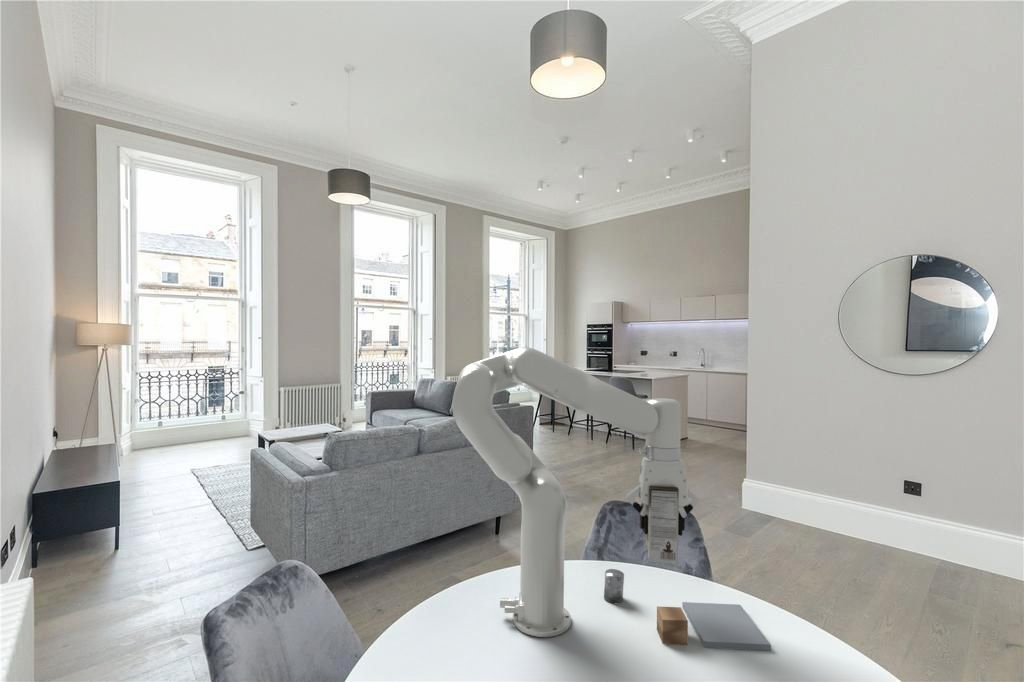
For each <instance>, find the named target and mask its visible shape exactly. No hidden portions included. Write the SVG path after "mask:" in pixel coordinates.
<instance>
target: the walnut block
mask: <svg viewBox="0 0 1024 682" xmlns="http://www.w3.org/2000/svg"><path fill="white" fill-rule="evenodd" d="M688 621H689V619H688V617H687V615H686V613H685V612H684V610H683V608H682V607H680V606H656V631H657V633H658V636H659V638H660V640H661V644H662V645H675V646H676V645H677V646H688V643H689V641H688V640H689V639H688V637H689V635H688V632H689V630H688V629H689V627H688V626H689V622H688Z"/></svg>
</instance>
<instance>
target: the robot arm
mask: <svg viewBox="0 0 1024 682" xmlns="http://www.w3.org/2000/svg"><path fill="white" fill-rule="evenodd" d="M517 386H522V387H524V388H526V389H528V390H530V391H533V392H535V393H538V394H540V395H542V396H544V397H547V398H549V399H551V400H553V401H555V402H557V403H559V404H562V405H564V406H566V407H568V408H570V409H573V410H574V411H577V412H580V413H584V414H586V415H587V414H588V415H589V416H591V417H594V418H597V419H598V420H601V421H603V422H606V423H608V424H610V425H612V426H615V427H616V428H619V429H621V430H623V431H625V432H628V433H630V434H631V435H634V436H637V437H643V436H644V437H645V444H644V446H642V447H639V448H638V452H639V454H642V455H644V457H642V460H641V464H640V470H639V479H638V485H637V486H636V487H634V488H633V489H632V490H631V491H630V492H628V493H627V494H626V495H625V497H626V500H627V501H628V502H629V504H631V506H632V507H633V508H634V509H635V510H636V512H638V513H639V528H640V529H641V530H642V531H643V534H644V535H646V534H648V516H647V511H648V506H649V487H650V486H664V487H677V488H678V489H679V519H678V536H681V537H682V536H683V531H685V527H686V526H685V524H686V522H685V521H686V520H685V518H687V516H688V514H689V513H690V512H692V511H693V509H694V508H695V507H696V506H697V505H698V504H699V502H700V498H698V497H697V496H696V495H695V494H694V493H693V492H692V491H690V490H689V489H688V479H687V478H688V477H687V470H686V463H685V461H684V460H683V459H681V428H682V427H681V424H682V422H681V418H682V416H681V415H682V407H681V403H680V402H679V401H678V400H676V399H672V398H665V397H664V398H661V397H658V398H649V399H647V398H640V397H639V396H638V397H637V396H635V395H633V394H631V393H629V392H626V391H625V390H623V389H621V388H618V387H617V386H614V385H611V384H610V383H608V382H605V381H603V380H600V379H599V378H597V377H595V376H593V375H592V374H589V373H588V372H585V371H583V370H581V369H579V368H576V367H574V366H572V365H570V364H568V363H566V362H564V361H563V360H562V361H561V360H559V359H557V358H555V357H553V356H551V355H548V354H546V353H544V352H542V351H539V350H538V349H535V348H532V347H529V346H527V347H526V346H525V347H524V346H522V347H517V348H514V349H512V350H509V351H506V352H503V353H500V354H498V355H494V356H490V357H488V358H484V359H482V360H478V361H475V362H472V363H469V364H467V365H466V366H464V367H463V368H462V369H461V371H460V373H459V375H458V379H457V382H456V385H455V388H454V392H453V395H452V405H451V406H452V415H453V417H454V421H455V423H456V426H457V427H458V429H459V430H460V432H461V433H462V434H463V435H464V437H465V438H466V439H467V441H469V443H470V444H471V445H472V447H473V448H474V450H475V451H476V452H477V453H478V454H479V455H480V456H481V458H482V460H484V461H485V463H486V464H487V466H489V468H490V470H491V471H492V472H493V473H494V474H495V476H496V477H497V478H499V479H500V480H502V481H503V482H506V483H507V484H508V486H509V487H510V488H511V489H512V491H513V492H514V493H515V494H516V495H517V496H518V498H519V501H520V503H521V526H520V582H519V583H520V585H519V586H520V590H519V591H520V592H519V594H518V595H519V596H518V597H517V596H515V597H514V598H506V597H501V598H500V601H499V608H501V609H502V608H503V609H504V614H505V613H506V614H512V621H513V624H514V626H515V628H517V630H519V631H520V632H522V633H524V634H526V635H527V636H533V637H538V638H550V637H551V638H552V637H556V636H559V635H562V634H564V633H565V632H566V631H568V629H569V628H570V627H571V625H572V624H571V623H572V621H571V619H572V617H571V614H570V612H569V610H567V609H566V608H565V603H564V602H565V600H564V598H565V590H564V589H565V529H566V527H565V526H566V520H567V519H566V518H567V511H568V506H567V505H568V503H567V497H566V496H567V495H566V492H565V490H564V488H563V487H562V485H561V483H560V482H559V481H558V480H557V478H556V477H555V476H554V474H553V473H552V472H551V471H550V470H549V468H548V467H547V466H546V465H545V464H544V462H542V460H541V459H540V458H539V457H538V456H537V454H536V452H534V451H533V449H531V447H530V446H529V445H528V443H527V442H526V441H525V439H523V438H522V437H521V436H520V435H519V434H516V433H514V432H513V431H512V430H511V429H510V427H509V426H508V425H507V424H506V422H505V421H504V420H503V419H502V418H501V416H500V415H499V414H498V413H497V411H496V409H495V408H494V405H493V398H494V395H495V394H496V393H500V392H503V391H506V390H509V389H512V388H515V387H517ZM637 496H638V497H639V499H640V500H641V503H639V502H638V501H637V500H636V497H637Z"/></svg>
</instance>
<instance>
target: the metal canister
mask: <svg viewBox="0 0 1024 682" xmlns="http://www.w3.org/2000/svg"><path fill="white" fill-rule="evenodd" d="M624 583H625V573H624V572H623V571H621V570H620V569H616V568H615V569H614V568H609V569H606V570H605V572H604V590H603V599H604V600H605V601H606V602H608V603H610V602H611V604H615V603H618V604H620V603H622V602H623V601H624V600H623V599H624V586H625V585H624Z"/></svg>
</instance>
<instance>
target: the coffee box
mask: <svg viewBox="0 0 1024 682" xmlns="http://www.w3.org/2000/svg"><path fill="white" fill-rule="evenodd" d="M647 516H648V534H645V535H646V550H647V557H648V561H649V562H657V563H658V562H659V563H669V564H677V565H678V563H679V562H678V561H679V535H678V519H679V489H678V488H677V487H664V486H650V487H649V506H648V511H647Z"/></svg>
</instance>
